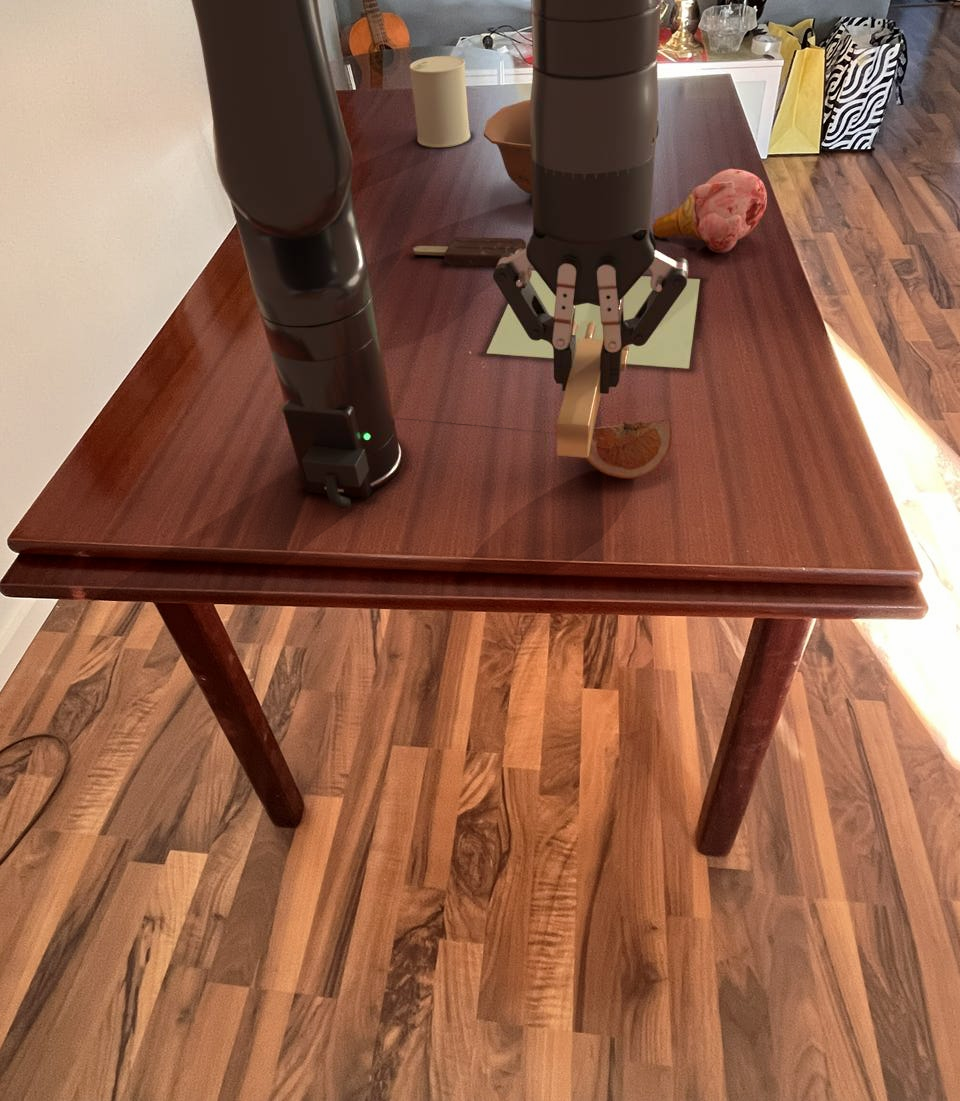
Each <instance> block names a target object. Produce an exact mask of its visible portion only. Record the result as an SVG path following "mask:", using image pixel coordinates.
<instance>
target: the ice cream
mask: <svg viewBox="0 0 960 1101" xmlns="http://www.w3.org/2000/svg"><path fill="white" fill-rule="evenodd" d="M767 201H768V195H767V189H766V187H765V183H764V182H763V181H762V180H761V179H760V177H758V176H757V175H755V174H754V173H752V172H749V171H747V170H743V169H737V168H736V169H734V168H728V169H724V170H721V171H719V172H718V173H716V174H714V175H713V176H711V178H709V180H707V181H706V182H705V183H704V184H700V185H697V186H696V187H694V188H693V190H692V192H691V193H690V194H689V195H688V196H687V197H686V199H685V201H684V202H683V203H682V204H681V205H680V206H678V208H675V209H674V210H673V211H671V212H668V213H665V214H664V215H663V216H660V217H658V218H656V220H655V221H654V222H653V224H652V234H653V235H654V236H655V237H657V238H659V239H666V238H674V237H679V236H686V237H692V238H694V239H695V240H697V241H704V242H705V243H706V247H707V248H708V250H710V251H711V252H714V253H717V254H724V253H728V252H729V251H731V250H732V249H733V248H734V247H735V246H736V244H737V242H738V240H741V239H743V238H744V237H746V236H747V235H749V233H750V232H751V231H753V230H754V228H755V227H756V226H757V225H758V223H759V222H760V220H761V219H762V217H763V216H764V212H765V210H766V208H767V203H768V202H767Z"/></svg>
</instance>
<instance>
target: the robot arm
mask: <svg viewBox="0 0 960 1101" xmlns="http://www.w3.org/2000/svg"><path fill="white" fill-rule="evenodd" d="M190 1H191V5H192V9H193V13H194V16H195V22H196V25H197V30H198V36H199V40H200V45H201V51H202V58H203V63H204V70H205V76H206V83H207V88H208V96H209V102H210V108H211V109H210V110H211V118H212V139H213V148H214V160H215V161H214V162H215V165H216V171H217V175H218V178H219V181H220V183H221V186H222V189H223V190H224V192H225V194H226V196H227V197H228V200H229V202H230V205H231V208H232V212H233V215H234V220H235V223H236V226H237V230H238V234H239V237H240V242H241V246H242V249H243V255H244V259H245V263H246V267H247V271H248V275H249V280H250V285H251V288H252V292H253V295H254V298H255V301H256V305H257V309H258V312H259V314H260V319H261V323H262V325H263V329H264V332H265V336H266V340H267V344H268V347H269V350H270V351H269V352H270V355H271V358H272V361H273V365H274V369H275V373H276V376H277V380H278V383H279V386H280V390H281V394H282V397H283V400H284V404H283V406H282V414H283V416H284V420H285V423H286V427H287V431H288V434H289V437H290V441H291V444H292V448H293V451H294V455H295V459H296V462H297V465H298V469H299V472H300V475H301V480H302V483H303V487H304V489H305V492H309V493H315V494H324V495H327V497H328V500H329V501H330V503H331V504H332V505H334V506H336V507H340V508H343V509H346V508H349V507H350V506H351V504H352V502H351V499H350V498H358V499H367V498H369V496H370V494H371V493H372V492H373V491H374V490H377V489H378V488H380V487H382V486H384V485H385V484H387V483H389V482H390V481H391V480H392V479H393V478H394V477H395V476H396V475H397V473H398V472H399V471H400V468H401V465H402V461H403V455H402V450H401V446H400V444H399V440H398V433H397V428H396V422H395V416H394V410H393V405H392V398H391V394H390V393H391V392H390V387H389V382H388V375H387V370H386V364H385V357H384V353H383V352H384V351H383V346H382V341H381V334H380V330H379V329H380V328H379V322H378V316H377V310H376V305H375V298H374V294H373V293H374V292H373V288H372V282H371V281H372V280H371V274H370V268H369V264H368V259H367V255H366V252H365V248H364V244H363V240H362V234H361V231H360V227H359V223H358V218H357V213H356V208H355V203H354V199H353V198H354V196H353V191H352V183H353V174H354V160H353V151H352V148H351V144H350V140H349V137H348V133H347V131H346V126H345V122H344V119H343V114H342V111H341V108H340V103H339V98H338V95H337V91H336V90H337V89H336V87H335V82H334V78H333V73H332V69H331V63H330V59H329V55H328V50H327V45H326V41H325V40H326V39H325V36H324V30H323V24H322V20H321V13H320V8H319V0H190ZM530 5H531V6H530V8H531V12H530V13H531V50H532V51H531V52H532V53H531V54H532V55H531V56H532V78H531V89H530V99H529V100H530V139H531V172H532V195H531V203H532V233H531V236H530V238H529V240H528V243H527V244H526V249H524V250H522V251H520V252H518V253H516V254H512V253H510V252H506V253H503V254H502V255H501V257H500V260H499V262H498V264H497V266H496V267H495V269H494V271H493V274H492V278H493V281H494V282H495V284H496V286H497V288H498V289H499V291H500V292H501V294H502V296H503V297H504V299H505V301H506V302H507V305H508V304H509V305H510V307H511V308H512V310H513V312H514V313H515V315H516V317H517V318H518V320H519V322H520V323H521V325H522V327H523V328H524V330H525V332H526V333H527V335H528V336H529V338H530V339H532V340H535V341H538V340H541V339H543V340H545V341H548V342H549V343H550V344H551V345H552V346H553V352H554V359H553V379H554V382H555V383H556V384H559V385H560V384H561V388H562V389H561V390H562V391H563V392H565V388H566V385H567V381H568V377H569V373H570V369H571V368H572V364H573V360H574V356H575V352H576V335H573V327H574V319H575V310H576V305H580V304H585V303H589V304H593V305H596V306H600V314H601V324H602V325H603V337H604V339H603V344H602V348H601V355H600V370H601V377H600V393H601V395H602V394H604V395H606V394H607V395H609V394H610V390H611V388H617V387H618V385H619V383H620V378H621V373H622V371H621V359H622V349H623V348H624V347H625V346H627V345H630V344H633V345H635V346H642V345H644V344H645V343H646V342H647V341H648V339H649V338H650V336H651V335H652V334H653V332H654V331H655V329H656V328H657V326H658V325H659V324H660V322H661V321H662V319H663V318H664V317H665V315H666V314H667V312H668V311H669V310H670V308H671V307H672V305H673V304H674V302H675V301H676V300H677V298H678V297H679V295H680V294H681V293H682V291H683V290H684V288H685V287H686V285H687V279H689V278H688V277H689V262H688V260H687V259H686V258H685V257H680V256H679V257H678V256H677V257H675V258H671V257H669V256H667V255H665V254H664V253H662V252H660V251H658V250H657V243H656V240H655V237H654V236H653V233H652V231H651V230H652V229H651V214H652V199H653V186H654V174H655V172H654V171H655V156H656V147H657V138H658V136H659V131H660V130H659V128H660V127H659V82H658V81H659V79H658V57H659V56H658V55H659V41H660V27H661V14H662V13H661V11H662V0H530ZM531 267H532V268H533V269H534V271H536V272H537V273H538V274H539V276H540V277H541V278H542V280H543V281H544V282H545V283H546V285H547V286H548V287H549V289H550V290H551V291H552V293H553V294H554V295H555V296H556V301H555V311H554V317H553V316H550V315H549V313H548V311H547V310H546V308H545V306H544V305H543V303H542V301H541V299H540V298H539V296H538V294H537V293H536V291H535V289H534V287H533V286H532V284H531V282H530V278H531V275H532V271H531V270H532V269H531ZM648 270H649V271H650V272H651V276H650V277H651V282H650V286H651V288H652V289H653V290H652V291H651V293H650V294H649V296H648V297H647V299H646V300H645V302H644V303H643V305H642V306H641V308H640V309H639V311H638V312H637V314H636V315H635V317H634V318H632V319H628V320H625V321H624V308H623V304H624V296H625V295H626V293H627V292H628V291H629V290H630V289H631V288H632V287H633V285H634V284H635V283H636V282H637V281H638V280H639V278H640V277H641V276H644V274H645V273H646V271H648ZM349 497H350V498H349Z"/></svg>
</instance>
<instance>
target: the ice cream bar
mask: <svg viewBox="0 0 960 1101" xmlns="http://www.w3.org/2000/svg"><path fill="white" fill-rule="evenodd" d="M526 248H527V242H526V241H525V240H524V239H523V238H515V237H514V238H513V237H512V238H511V237H478V236H477V237H476V236H474V237H472V236H454V237H453V238H452V239H451V241H450V244H449V246H443V245H441V246H440V245H417V246H415V247H413V254H414V255H416V256H417V255H418V256H442V257H443V259H444V264H445V266H458V267H459V266H460V267H462V266H464V267H494V268H496V266H497V264H498V262H499V260H500V257H501V255H502V254H503V253H506V252H510V253H512V254H516V253H518V252H520V251H522V250H524V249H526Z"/></svg>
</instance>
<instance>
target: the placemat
mask: <svg viewBox="0 0 960 1101" xmlns="http://www.w3.org/2000/svg"><path fill="white" fill-rule="evenodd" d="M531 271H532V275H531V278H530V282H531V284H532V286H533V287H534V289H535V291H536V293H537V294H538V296H539V298H540V299H541V301H542V303H543V305H544V306H545V308H546V310H547V311H548V313H549V315H550V316H553V317H554V311H555V301H556V296H555V295H554V294H553V293H552V291H551V290H550V289H549V287H548V286H547V285H546V283H545V282H544V281H543V280H542V278H541V277H540V276H539V274H538V273H537V272H536V270H535V269H534V270H532V269H531ZM650 282H651V276H647V275H642V276H641V277H640V278H639V280H638V281H637V282H636V283H635V284H634V285H633V287H632V288H631V289H630V290H629V291H628V292H627V293H626V295H625V296H624V304H623V308H624V321H625V320H628V319H632V318H634V317H635V315H636V314H637V312H638V311H639V309H640V308H641V306H642V305H643V303H644V302H645V300H646V299H647V297H648V296H649V294H650V293H651V291H652V290H653V289H652V288H651V286H650ZM700 282H701V279H700V278H687V285H686V287H685V288H684V290H683V291H682V293H681V294H680V295H679V297H678V298H677V300H676V301H675V302H674V304H673V305H672V307H671V308H670V310H669V311H668V312H667V314H666V315H665V317H664V318H663V319H662V321H661V322H660V324H659V325H658V326H657V328H656V329H655V331H654V332H653V334H652V335H651V336H650V338H649V339H648V341H647V342H646V343H645V344H644V345H642V346H635V345H633V344H630V345H629V350H628V357H627V363H626V365H632V366H643V367H644V366H646V367H658V368H670V369H671V368H672V369H685V370H689V369H690V362H691V355H692V347H693V340H694V338H693V337H694V330H695V324H696V323H695V322H696V316H697V315H696V314H697V307H698V299H699V290H700V284H701V283H700ZM574 321H575V322H577V323H578V328H577V332H576V345H577V342H578V339H579V338H582V339H584V338H585V334H586V330H587V326H588V324H589V323H590V322H594V323H595V324H596V329H595V333H594V337H593V339H603V325H602V324H601V314H600V306H596V305H593V304H589V303H585V304H580V305H576V310H575V319H574ZM486 354H487V355H488V354H489V355H498V356H499V355H501V356H513V357H514V356H515V357H528V358H541V359H553V360H554V352H553V346H552V345H551V344H550V343H549V342H548V341H545V340H543V339H541V340H538V341H535V340H532V339H530V338H529V336H528V335H527V333H526V332H525V330H524V328H523V327H522V325H521V323H520V322H519V320H518V318H517V317H516V315H515V313H514V312H513V310H512V308H511V307H510V305H509V304H508V303H507V306H506V307H505V309H504V313H503V315H502V317H501V319H500V321H499V324H498V326H497V327H496V330H495V333H494V334H493V336H492V339H491V342H490V344H489V346H488V348H487V351H486Z"/></svg>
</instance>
